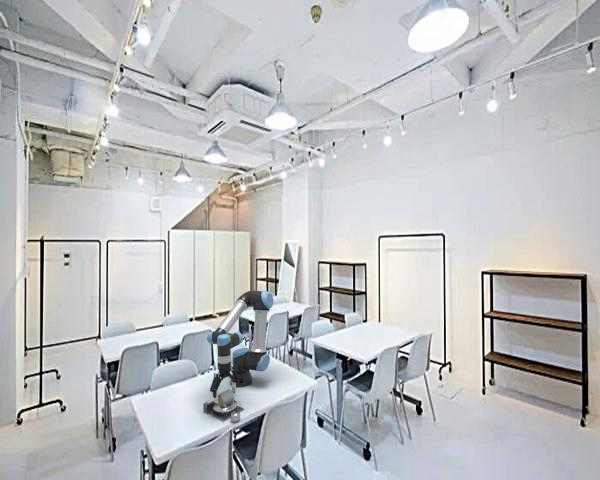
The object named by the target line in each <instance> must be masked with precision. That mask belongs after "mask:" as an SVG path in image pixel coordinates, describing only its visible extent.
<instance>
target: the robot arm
mask: <svg viewBox="0 0 600 480" xmlns="http://www.w3.org/2000/svg"><path fill="white" fill-rule="evenodd" d="M273 305H274V297H273V294H272V293H271V291H266V290H247V291H246V292H244V293H243V294H241V295H240V296H239V297H238V298H237V299H236V300H235V302H234V305H233V307H232V308H230V310H229V312H228V314H227V315H226V316H225V318H224V319H223V320H222V321H221V323H220V324H219V325H218V327H217V328H216V329H215V330H214V331H213V330H212V331H210V332H208V334H207V336H206V339H207V342H208V344H211V345H212V344H213V345H217V347H216V349H217V369H218V372H217V373H216V372H214V373H213V379H212V382H211V385H210V388H209V392H211V393H212V398H214V402H215V403H218V395H219V391H218V389H219V387H220V385H221V383H222V382H223V380H224V379H226V378H229V379H230V385H231V391H232V392H233V395H236V394H237V388H243V387H247V386H250V385H251V384H252V383H253V377H252V373H251V371H255V372H265V371H266V370H267V369H268V367H269V365H270V362H271V357H270V355H269V353H268V350H267V349H266V341H267V340H266V338H267V322H268V313H269V312H270V309H272V308H273ZM251 307H252V310H253V312H254V324H253V336H252V337H253V339H252V348H251V349H250V348H247V347H242V348H238V349H235V350H234V351H233V352H232V351H231V350H232V349H233V348H235V347H238V346H239V345H240V344H242V343H243V342H244V335H243V334H242V333H241V332H239V331H237V332H236V331H235V332H233V333H230V331H231V329H232V328H233V327H234V325H235V324H236V323H237V321H238V320H239V319H240V317H241V316H242V314H243V313H244V312H245V311H247V309H248V308H251ZM231 353H232V354H231Z"/></svg>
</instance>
